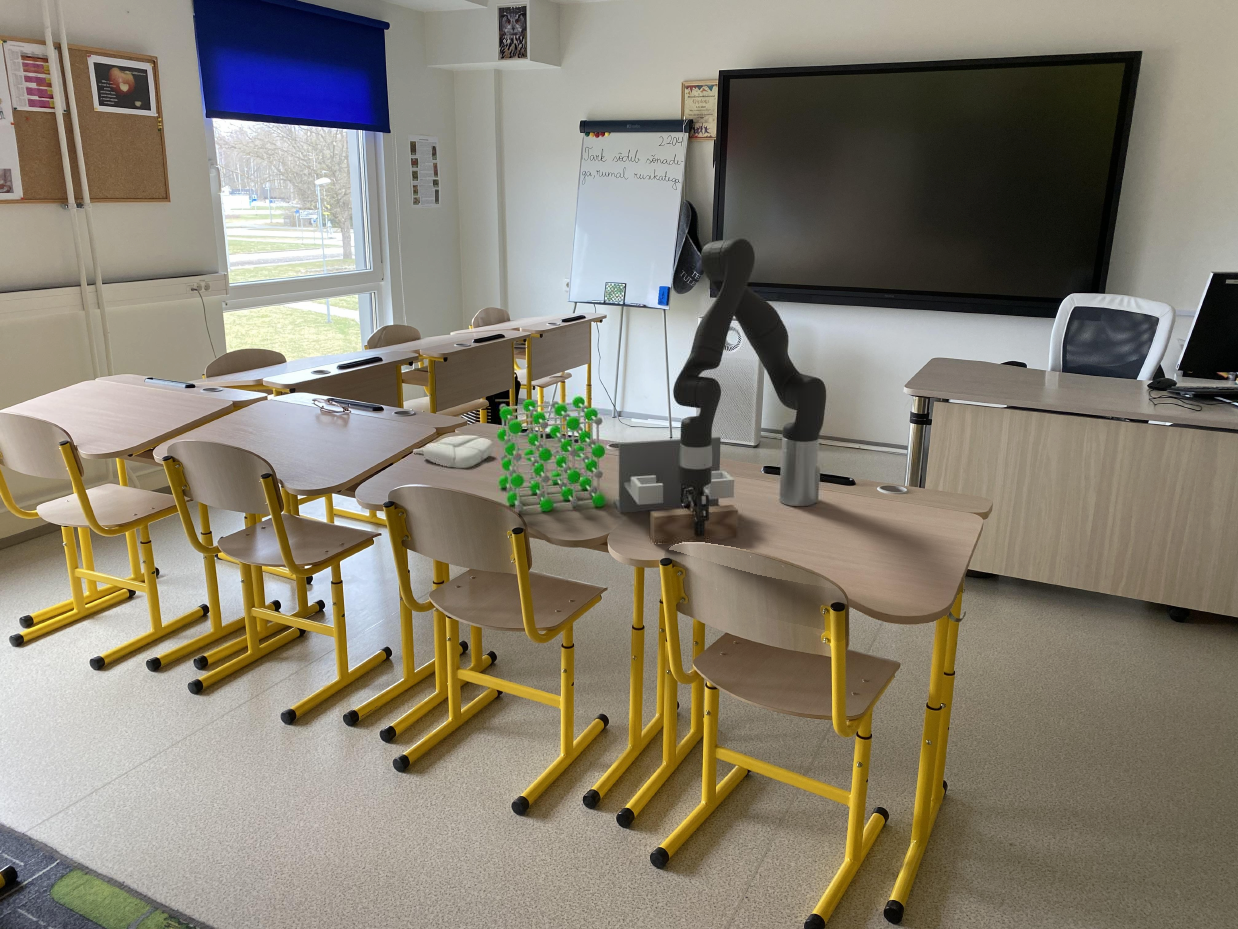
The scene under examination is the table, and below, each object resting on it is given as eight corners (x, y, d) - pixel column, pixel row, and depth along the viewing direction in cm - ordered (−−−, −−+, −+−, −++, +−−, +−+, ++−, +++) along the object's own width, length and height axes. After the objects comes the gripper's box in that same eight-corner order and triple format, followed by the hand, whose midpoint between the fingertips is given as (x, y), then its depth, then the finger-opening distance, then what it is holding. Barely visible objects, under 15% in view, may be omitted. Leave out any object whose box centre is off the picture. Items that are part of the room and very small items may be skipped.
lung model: (468, 470, 265) (397, 468, 275) (499, 455, 280) (430, 454, 290) (466, 448, 263) (394, 446, 273) (496, 434, 278) (428, 434, 288)
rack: (709, 496, 242) (711, 430, 237) (737, 524, 222) (740, 453, 217) (613, 503, 237) (613, 436, 231) (633, 533, 217) (633, 460, 211)
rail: (731, 532, 218) (732, 504, 215) (736, 538, 214) (737, 510, 212) (650, 539, 213) (650, 511, 211) (654, 545, 210) (654, 516, 208)
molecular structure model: (512, 516, 228) (509, 422, 221) (498, 486, 251) (494, 399, 244) (606, 508, 234) (606, 415, 227) (584, 479, 257) (583, 394, 250)
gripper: (721, 470, 202) (718, 539, 207) (701, 453, 216) (699, 517, 220) (688, 473, 201) (687, 542, 206) (670, 455, 214) (669, 520, 219)
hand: (693, 529), depth 213 cm, fingers open, 8 cm apart
